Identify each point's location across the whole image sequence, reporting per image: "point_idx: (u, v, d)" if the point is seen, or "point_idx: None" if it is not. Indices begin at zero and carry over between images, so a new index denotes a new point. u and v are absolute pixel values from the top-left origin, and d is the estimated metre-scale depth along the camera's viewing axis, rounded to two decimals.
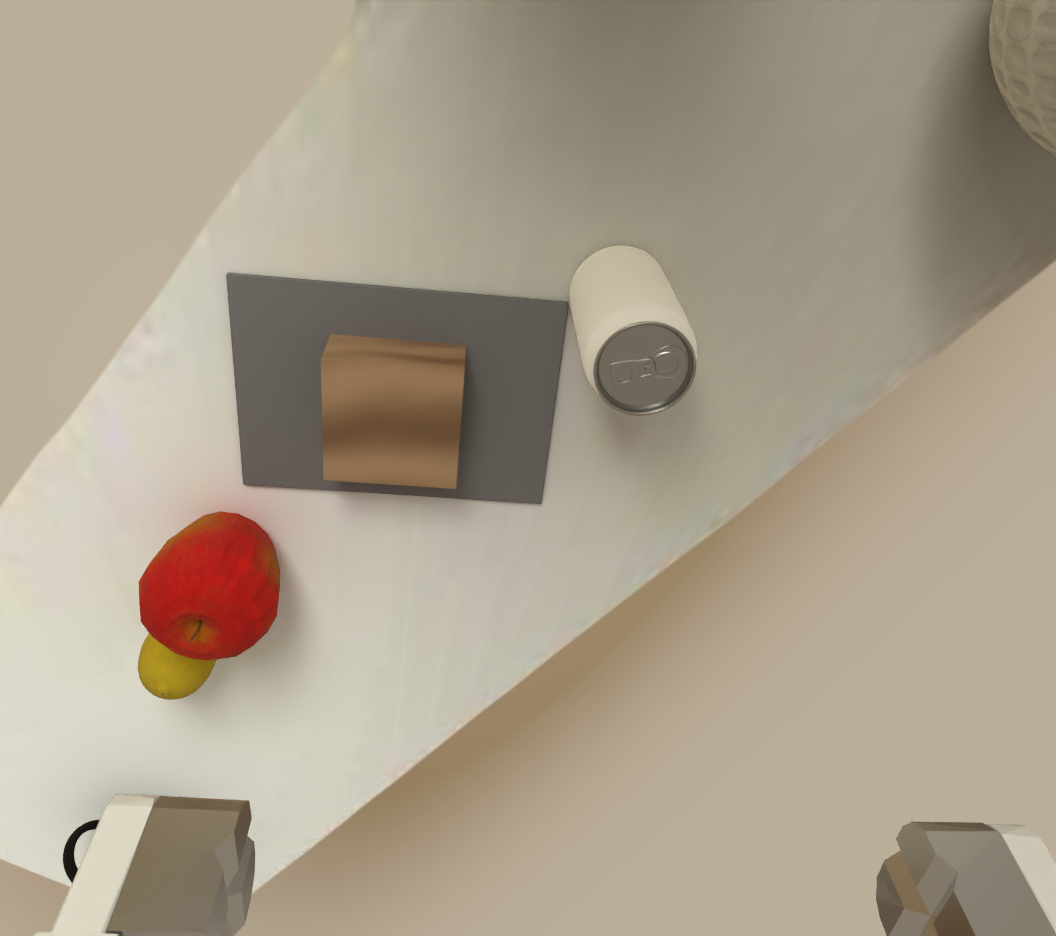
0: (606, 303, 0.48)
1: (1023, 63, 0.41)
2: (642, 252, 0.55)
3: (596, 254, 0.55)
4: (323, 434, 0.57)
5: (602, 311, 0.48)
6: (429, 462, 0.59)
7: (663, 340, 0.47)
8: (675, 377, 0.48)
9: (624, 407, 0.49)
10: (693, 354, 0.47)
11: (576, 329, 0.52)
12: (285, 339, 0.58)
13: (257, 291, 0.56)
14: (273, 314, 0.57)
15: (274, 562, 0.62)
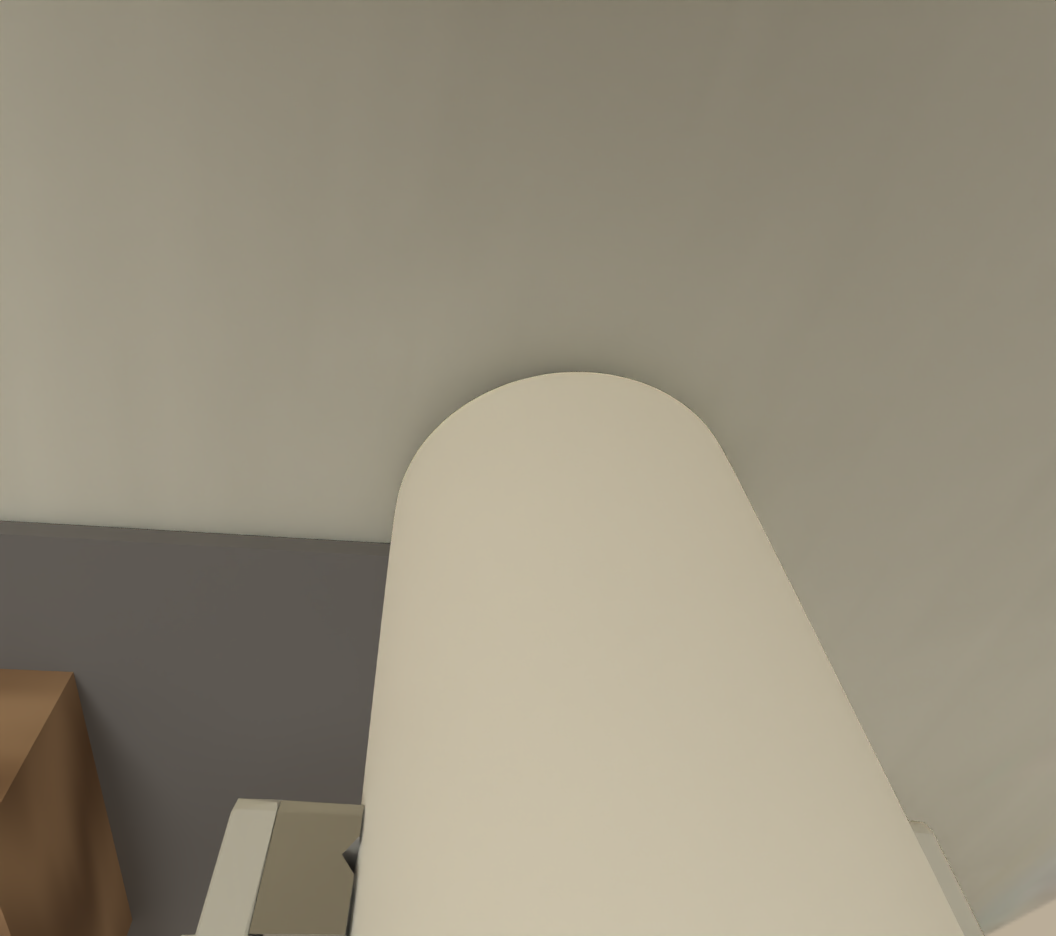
0: (464, 856, 0.08)
1: None
2: (653, 401, 0.14)
3: (477, 410, 0.14)
4: None
5: None
6: None
7: None
8: None
9: None
10: None
11: None
12: None
13: None
14: None
15: None
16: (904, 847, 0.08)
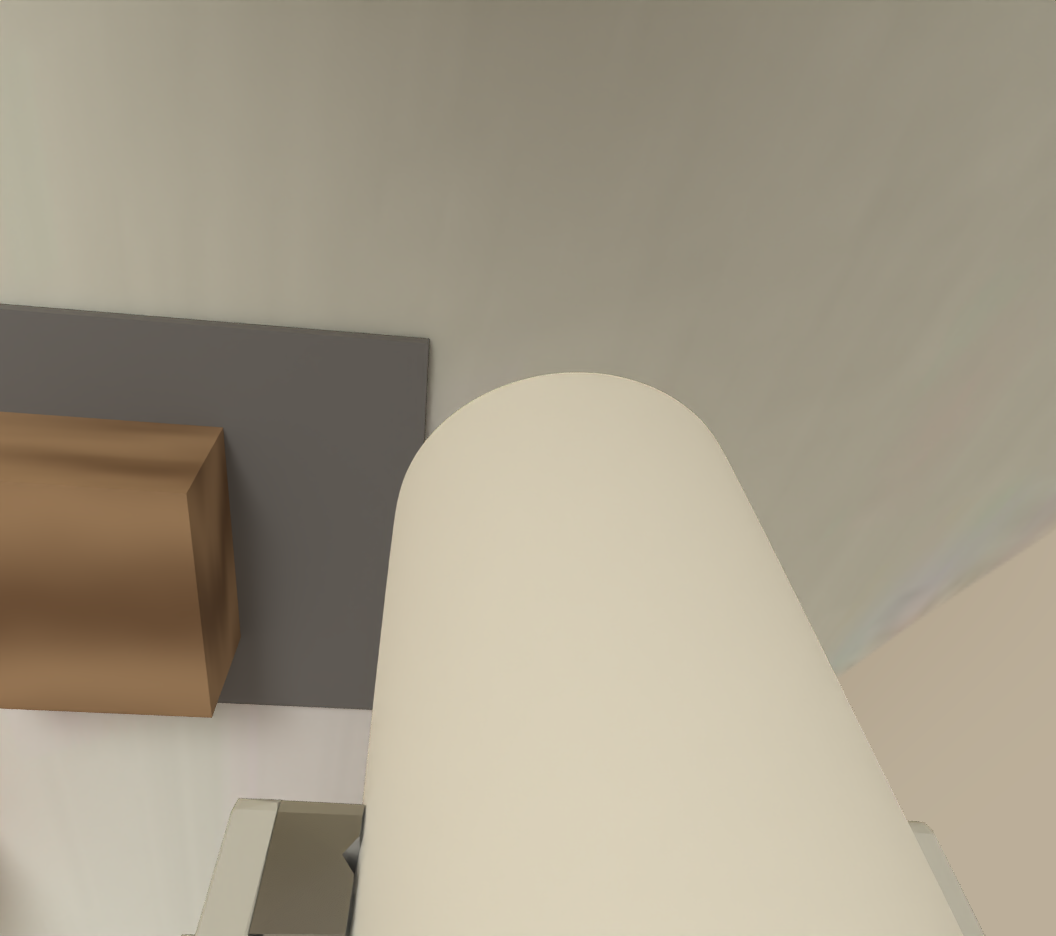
0: (464, 854, 0.08)
1: None
2: (653, 401, 0.14)
3: (478, 410, 0.14)
4: None
5: (435, 933, 0.07)
6: (145, 671, 0.28)
7: None
8: None
9: None
10: None
11: None
12: None
13: None
14: None
15: None
16: (902, 845, 0.08)
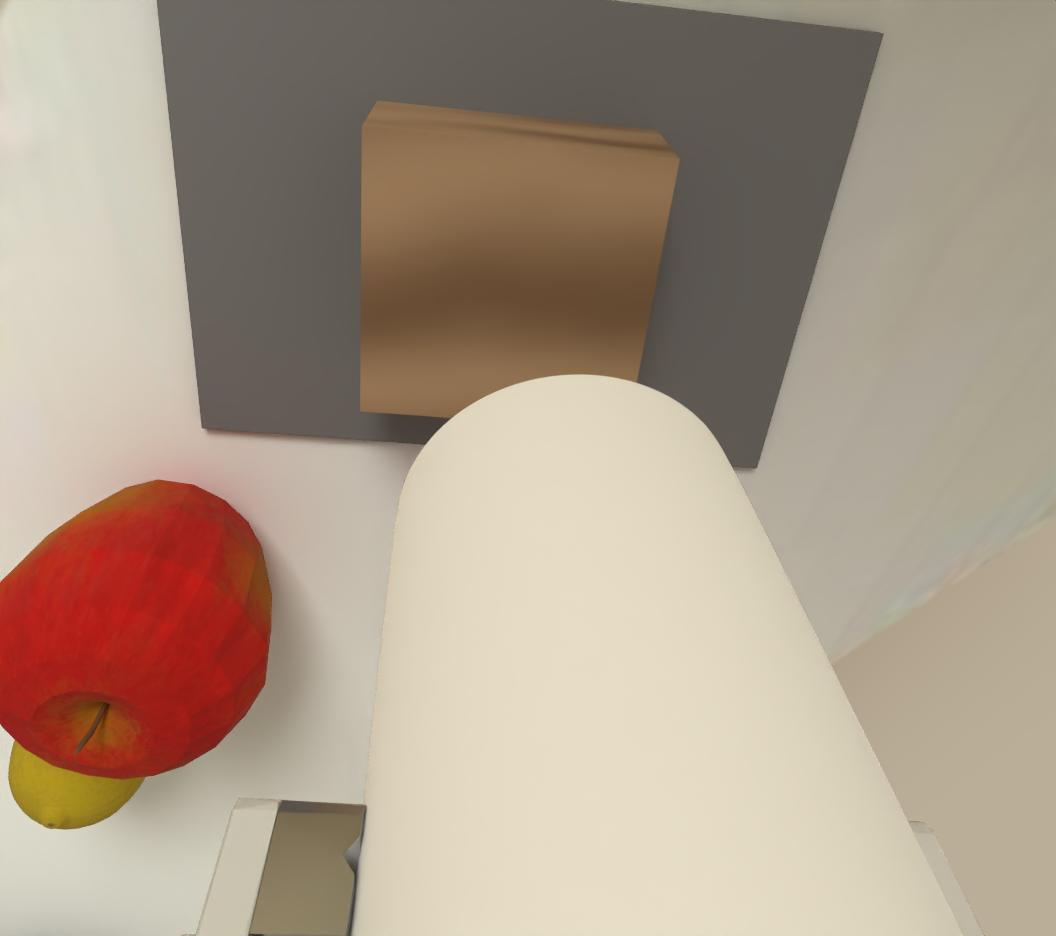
0: (465, 859, 0.08)
1: None
2: (655, 403, 0.14)
3: (479, 413, 0.14)
4: (362, 309, 0.27)
5: None
6: (579, 374, 0.28)
7: None
8: None
9: None
10: None
11: None
12: (282, 112, 0.28)
13: None
14: (256, 51, 0.27)
15: (260, 578, 0.32)
16: (905, 851, 0.08)
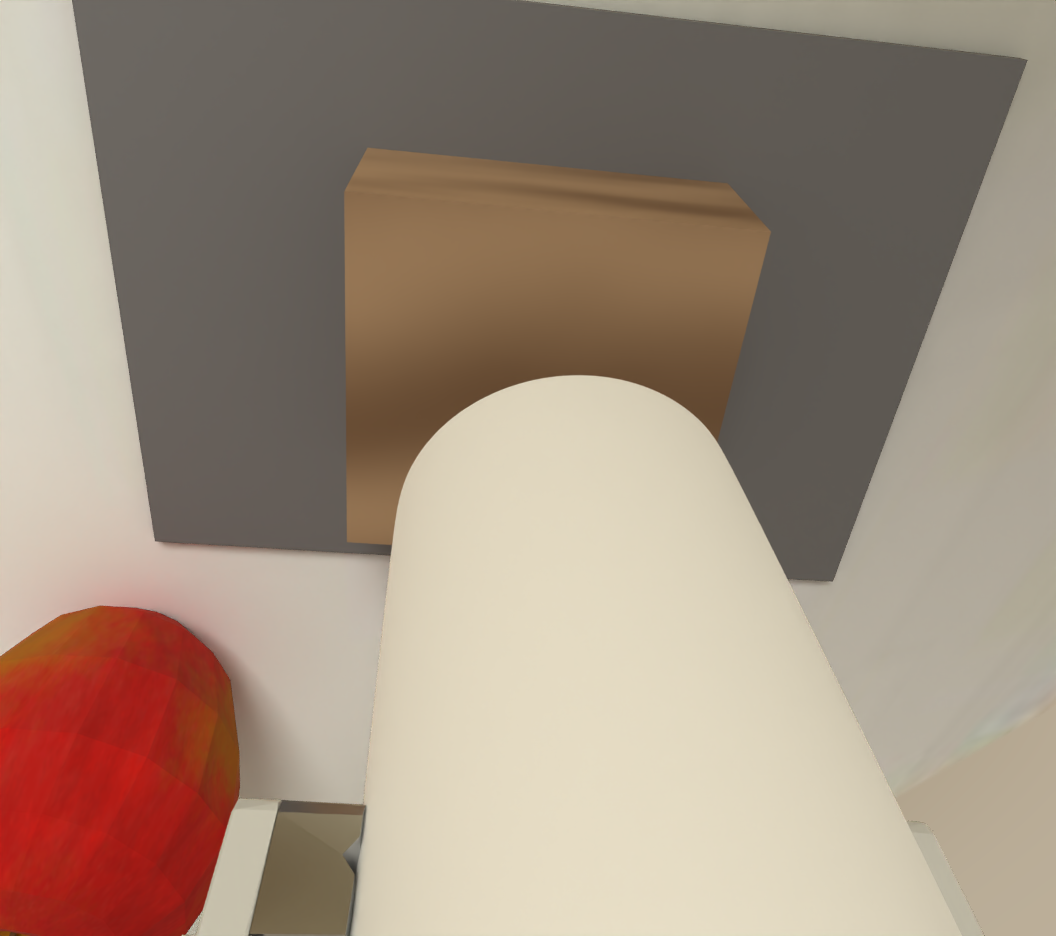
0: (465, 861, 0.08)
1: None
2: (655, 404, 0.14)
3: (479, 413, 0.14)
4: (348, 421, 0.21)
5: None
6: None
7: None
8: None
9: None
10: None
11: None
12: (244, 163, 0.21)
13: (160, 6, 0.19)
14: (208, 86, 0.20)
15: (224, 735, 0.26)
16: (904, 852, 0.08)
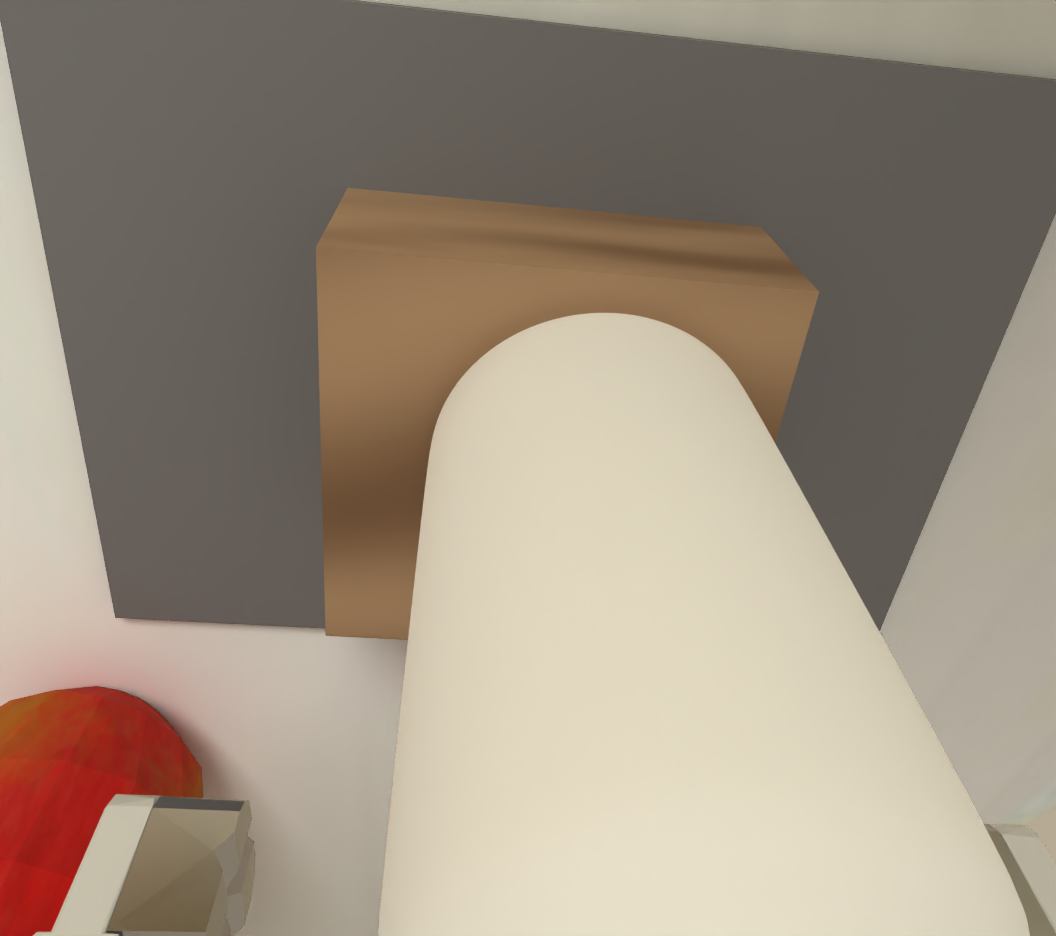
0: (511, 698, 0.08)
1: None
2: (684, 341, 0.15)
3: (516, 345, 0.15)
4: (325, 505, 0.18)
5: (484, 764, 0.08)
6: None
7: None
8: None
9: None
10: None
11: None
12: (206, 205, 0.18)
13: (103, 27, 0.17)
14: (162, 118, 0.18)
15: None
16: (916, 714, 0.09)
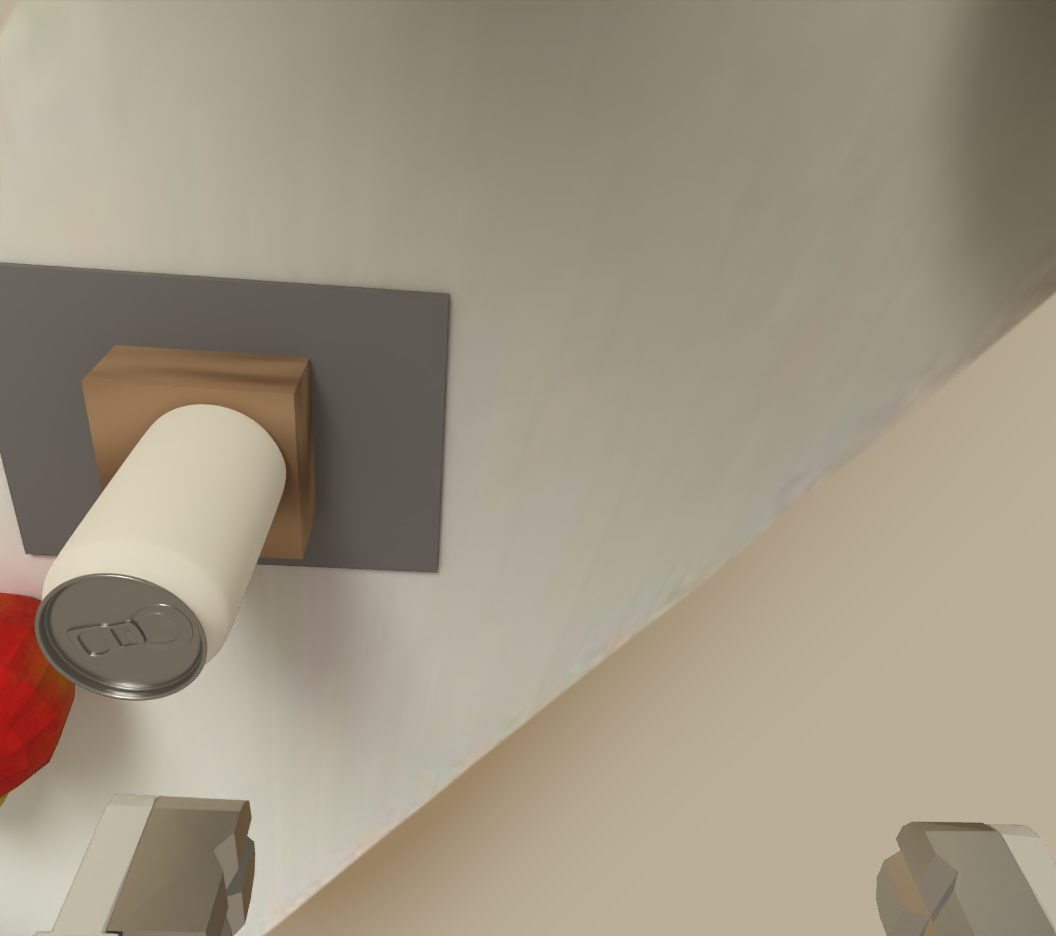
0: (82, 525, 0.31)
1: None
2: (228, 415, 0.37)
3: (161, 418, 0.37)
4: (102, 487, 0.40)
5: (69, 540, 0.30)
6: None
7: (141, 596, 0.29)
8: (180, 647, 0.30)
9: (114, 687, 0.31)
10: (193, 619, 0.29)
11: None
12: (52, 353, 0.41)
13: (1, 285, 0.39)
14: (29, 318, 0.40)
15: None
16: (203, 531, 0.31)
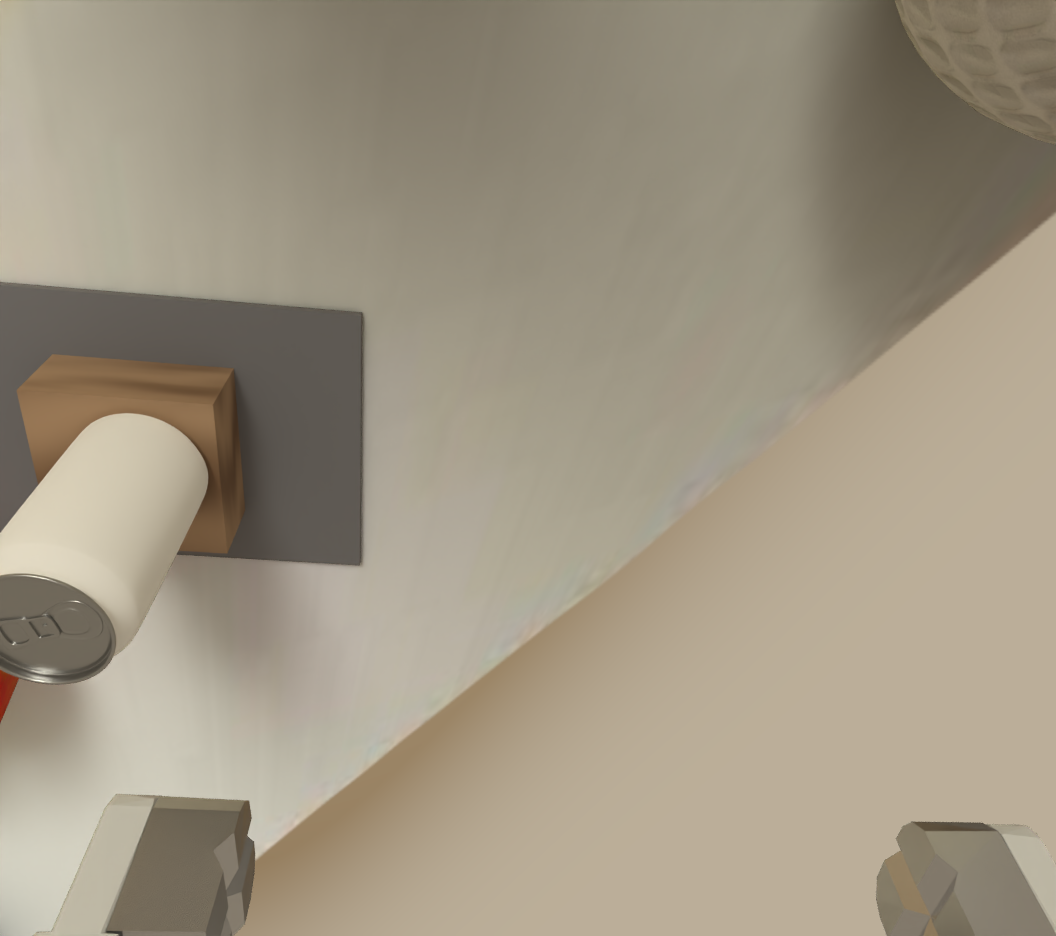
0: (6, 528, 0.34)
1: None
2: (151, 424, 0.41)
3: (90, 425, 0.41)
4: None
5: None
6: None
7: (55, 594, 0.33)
8: (92, 638, 0.34)
9: (35, 672, 0.35)
10: (101, 614, 0.33)
11: None
12: None
13: None
14: None
15: None
16: (116, 534, 0.35)
